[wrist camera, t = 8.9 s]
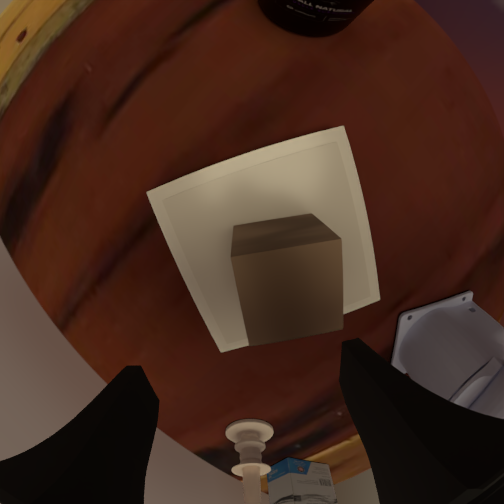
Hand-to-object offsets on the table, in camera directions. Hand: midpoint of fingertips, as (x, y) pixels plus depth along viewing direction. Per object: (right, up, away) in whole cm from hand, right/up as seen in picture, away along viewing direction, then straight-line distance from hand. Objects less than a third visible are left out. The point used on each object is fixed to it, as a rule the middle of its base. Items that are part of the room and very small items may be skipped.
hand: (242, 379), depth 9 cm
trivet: (+2, +5, +9) cm, 11 cm away
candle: (0, -15, +17) cm, 23 cm away
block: (+2, +4, +7) cm, 9 cm away
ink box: (+7, -26, +21) cm, 35 cm away
